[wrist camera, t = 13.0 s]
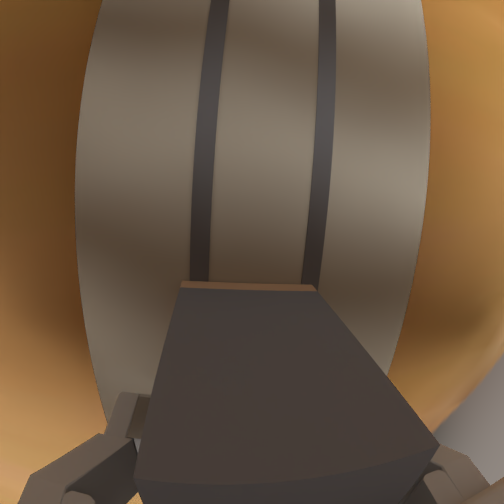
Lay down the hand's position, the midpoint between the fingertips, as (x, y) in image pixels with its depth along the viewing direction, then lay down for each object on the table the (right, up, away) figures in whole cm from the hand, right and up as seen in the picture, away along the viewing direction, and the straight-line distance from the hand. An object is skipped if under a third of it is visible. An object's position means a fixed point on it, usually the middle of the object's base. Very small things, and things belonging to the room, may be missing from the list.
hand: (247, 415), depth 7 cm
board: (0, +5, +2) cm, 5 cm away
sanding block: (0, 0, +2) cm, 2 cm away
